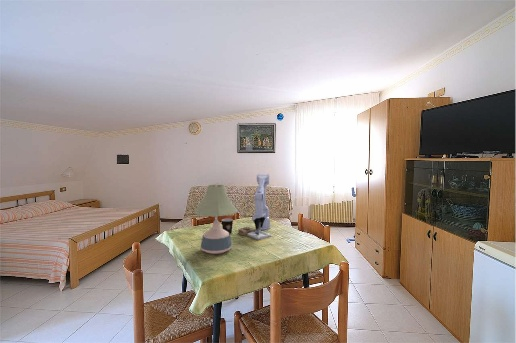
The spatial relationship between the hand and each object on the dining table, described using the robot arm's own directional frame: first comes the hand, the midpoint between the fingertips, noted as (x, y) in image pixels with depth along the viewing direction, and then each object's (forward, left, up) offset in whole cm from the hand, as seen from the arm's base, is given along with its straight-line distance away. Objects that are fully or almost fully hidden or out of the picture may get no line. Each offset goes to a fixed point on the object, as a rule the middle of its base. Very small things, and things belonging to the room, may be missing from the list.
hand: (259, 227), depth 180 cm
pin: (+1, -1, -5) cm, 5 cm away
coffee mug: (+15, -22, -6) cm, 27 cm away
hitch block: (+3, -11, -6) cm, 13 cm away
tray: (0, 0, -6) cm, 6 cm away
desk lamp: (+38, +5, -6) cm, 39 cm away
